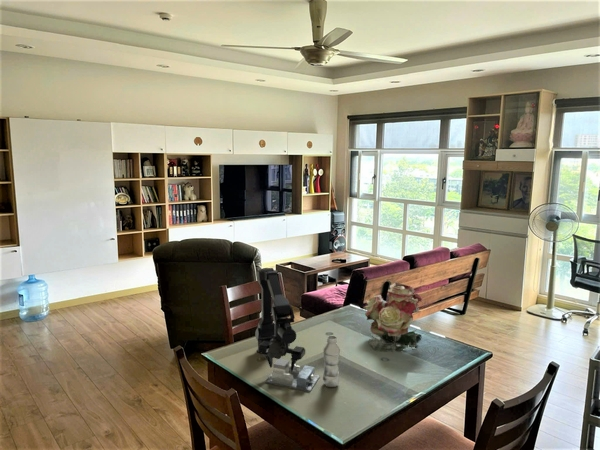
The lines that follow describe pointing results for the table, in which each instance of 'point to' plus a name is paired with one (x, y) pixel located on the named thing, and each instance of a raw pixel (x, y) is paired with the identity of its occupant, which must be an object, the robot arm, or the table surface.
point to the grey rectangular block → (281, 366)
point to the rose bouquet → (393, 318)
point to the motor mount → (295, 378)
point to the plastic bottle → (331, 362)
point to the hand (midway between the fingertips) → (281, 369)
